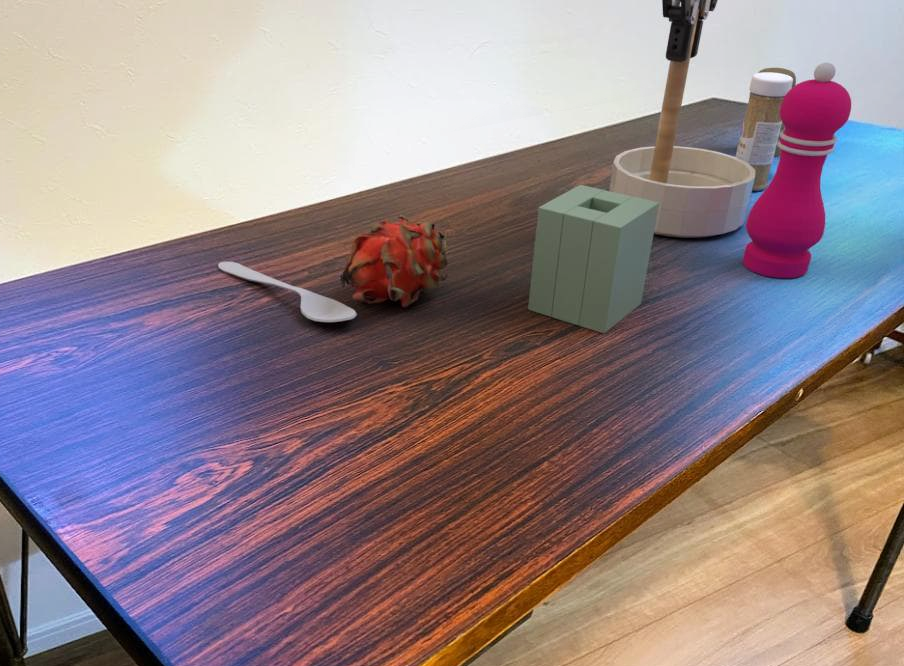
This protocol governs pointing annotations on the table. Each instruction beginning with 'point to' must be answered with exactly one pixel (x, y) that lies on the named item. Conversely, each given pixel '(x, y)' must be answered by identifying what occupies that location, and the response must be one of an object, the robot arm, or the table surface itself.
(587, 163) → the table surface
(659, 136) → the cooking stick
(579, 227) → the utensil block
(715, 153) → the bowl
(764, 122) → the sprinkles bottle
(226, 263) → the spoon
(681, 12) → the robot arm
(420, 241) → the dragon fruit
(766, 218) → the pepper mill
